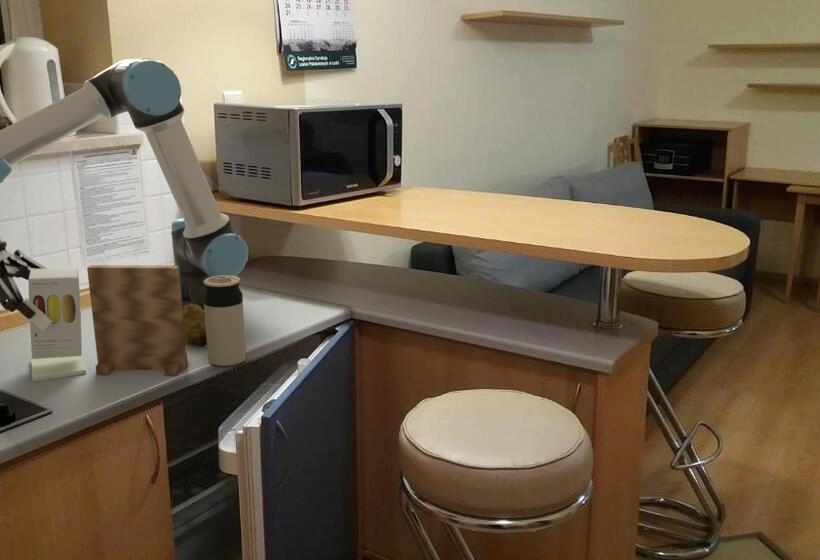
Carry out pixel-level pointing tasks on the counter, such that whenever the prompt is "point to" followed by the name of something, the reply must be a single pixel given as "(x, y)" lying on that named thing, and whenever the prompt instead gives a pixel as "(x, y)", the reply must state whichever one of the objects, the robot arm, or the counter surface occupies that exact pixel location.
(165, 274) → the screen
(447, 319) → the counter surface
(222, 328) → the travel mug
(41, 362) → the sticky note pad
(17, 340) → the counter surface
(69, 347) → the supplement box
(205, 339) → the potato
